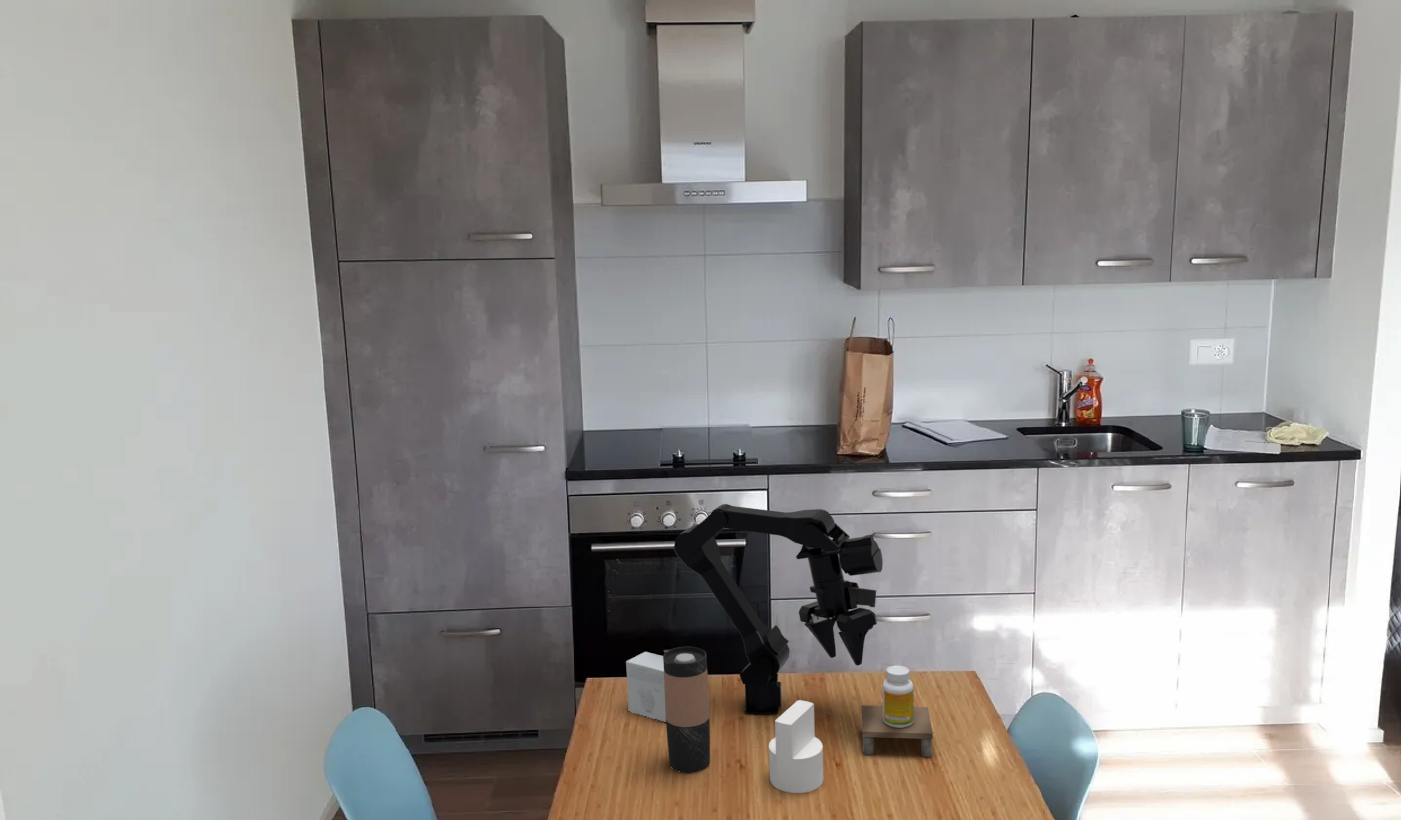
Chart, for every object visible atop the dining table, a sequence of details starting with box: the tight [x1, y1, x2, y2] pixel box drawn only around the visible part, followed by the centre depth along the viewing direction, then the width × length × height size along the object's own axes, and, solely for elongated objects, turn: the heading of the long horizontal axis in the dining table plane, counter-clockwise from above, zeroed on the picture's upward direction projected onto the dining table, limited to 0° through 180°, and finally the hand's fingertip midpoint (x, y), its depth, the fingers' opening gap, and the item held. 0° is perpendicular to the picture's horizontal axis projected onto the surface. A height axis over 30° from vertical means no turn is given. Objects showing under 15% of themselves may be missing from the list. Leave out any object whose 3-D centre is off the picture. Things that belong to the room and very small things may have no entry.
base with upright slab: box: [768, 699, 824, 794], centre depth 169 cm, size 9×9×12 cm
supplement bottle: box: [882, 665, 915, 728], centre depth 178 cm, size 5×5×10 cm
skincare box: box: [625, 651, 666, 723], centre depth 196 cm, size 10×6×10 cm, turn 54°
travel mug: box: [662, 646, 711, 774], centre depth 175 cm, size 8×8×20 cm
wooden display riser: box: [861, 705, 934, 758], centre depth 180 cm, size 12×10×4 cm
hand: (845, 660), depth 186 cm, fingers open, 9 cm apart
